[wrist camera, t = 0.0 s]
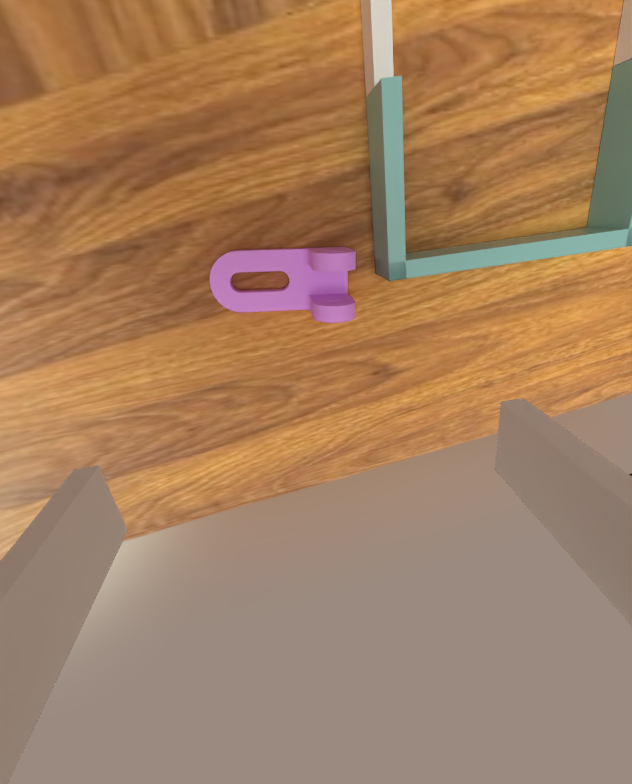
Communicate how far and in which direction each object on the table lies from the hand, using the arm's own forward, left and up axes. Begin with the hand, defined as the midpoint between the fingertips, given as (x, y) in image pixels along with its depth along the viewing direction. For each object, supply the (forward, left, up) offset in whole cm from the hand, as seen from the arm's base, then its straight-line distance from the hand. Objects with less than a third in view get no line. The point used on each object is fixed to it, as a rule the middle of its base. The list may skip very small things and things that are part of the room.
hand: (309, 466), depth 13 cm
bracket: (-2, 0, -28) cm, 28 cm away
